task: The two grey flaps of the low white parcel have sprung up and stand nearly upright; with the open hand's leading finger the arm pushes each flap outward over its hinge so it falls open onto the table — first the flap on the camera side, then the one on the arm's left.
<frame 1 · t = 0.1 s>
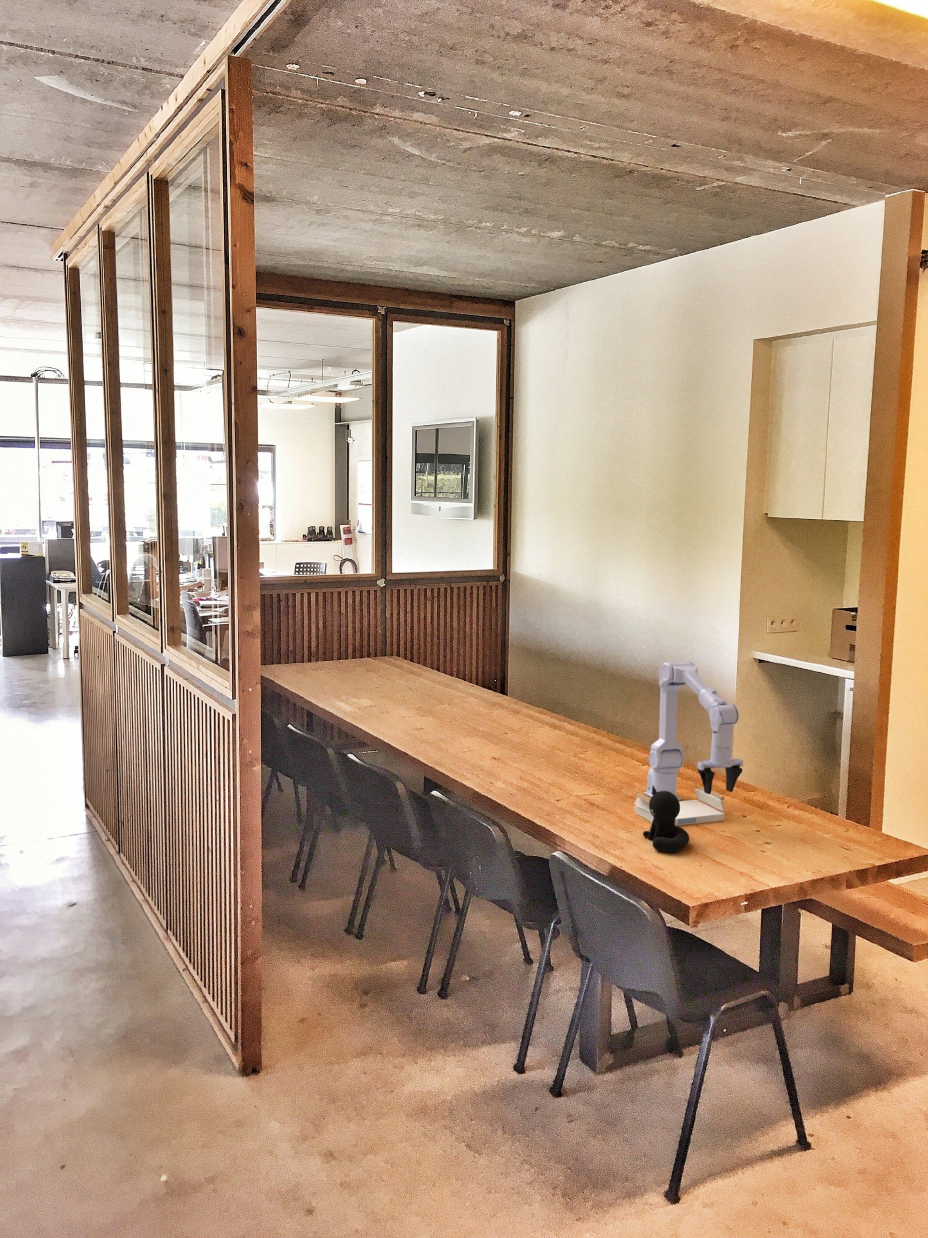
hand: (718, 792, 292), 10 cm above the table, fingers open, 7 cm apart
far flap: (711, 798, 304), point 5 cm above the table, hinge at 68.0°
figurine: (665, 844, 277), on the table
carton: (678, 816, 301), on the table
near flap: (646, 804, 296), point 5 cm above the table, hinge at 68.0°
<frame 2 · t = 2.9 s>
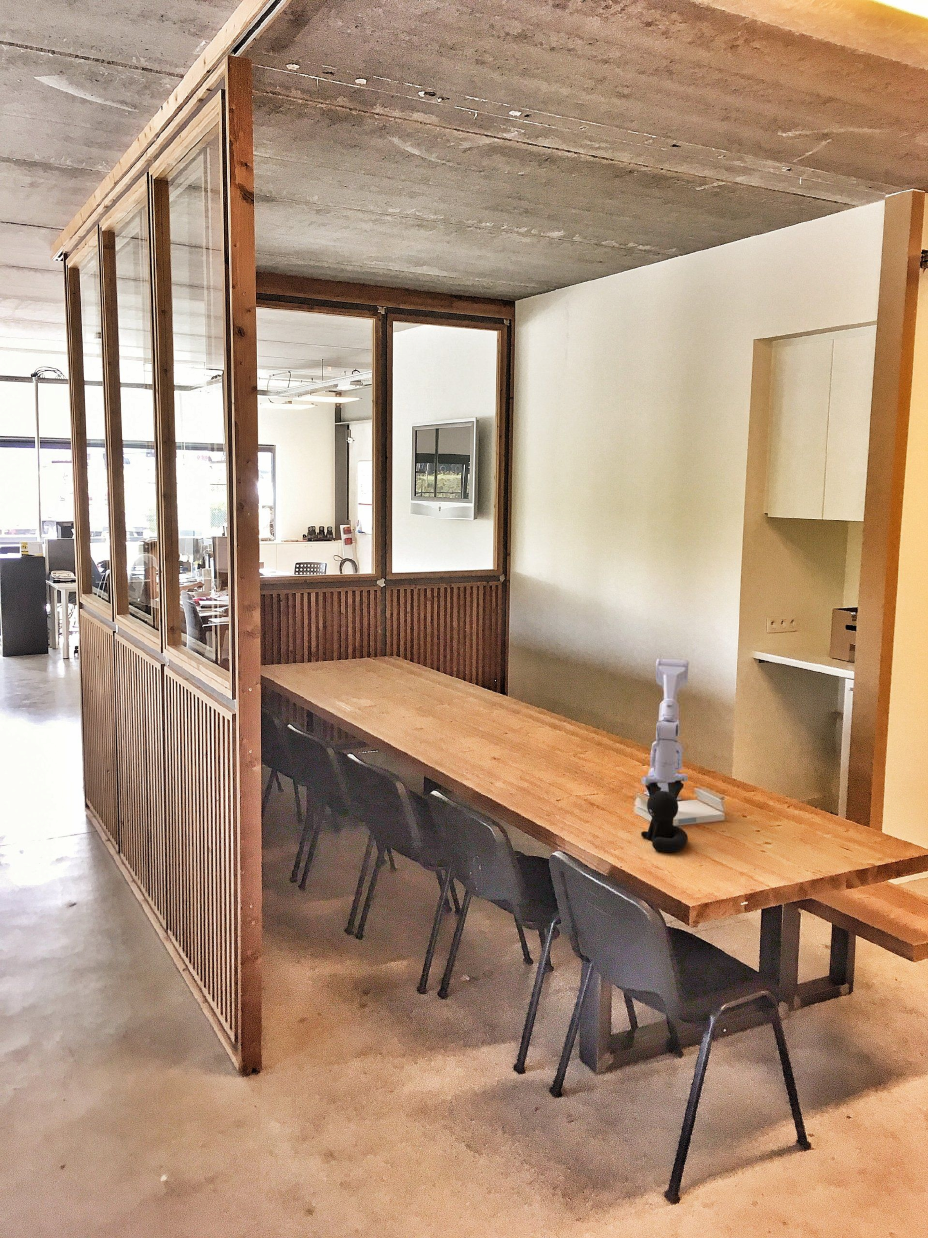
hand: (662, 806, 298), 3 cm above the table, fingers open, 5 cm apart
near flap: (646, 804, 296), point 5 cm above the table, hinge at 70.1°, touching gripper
everything else where it was.
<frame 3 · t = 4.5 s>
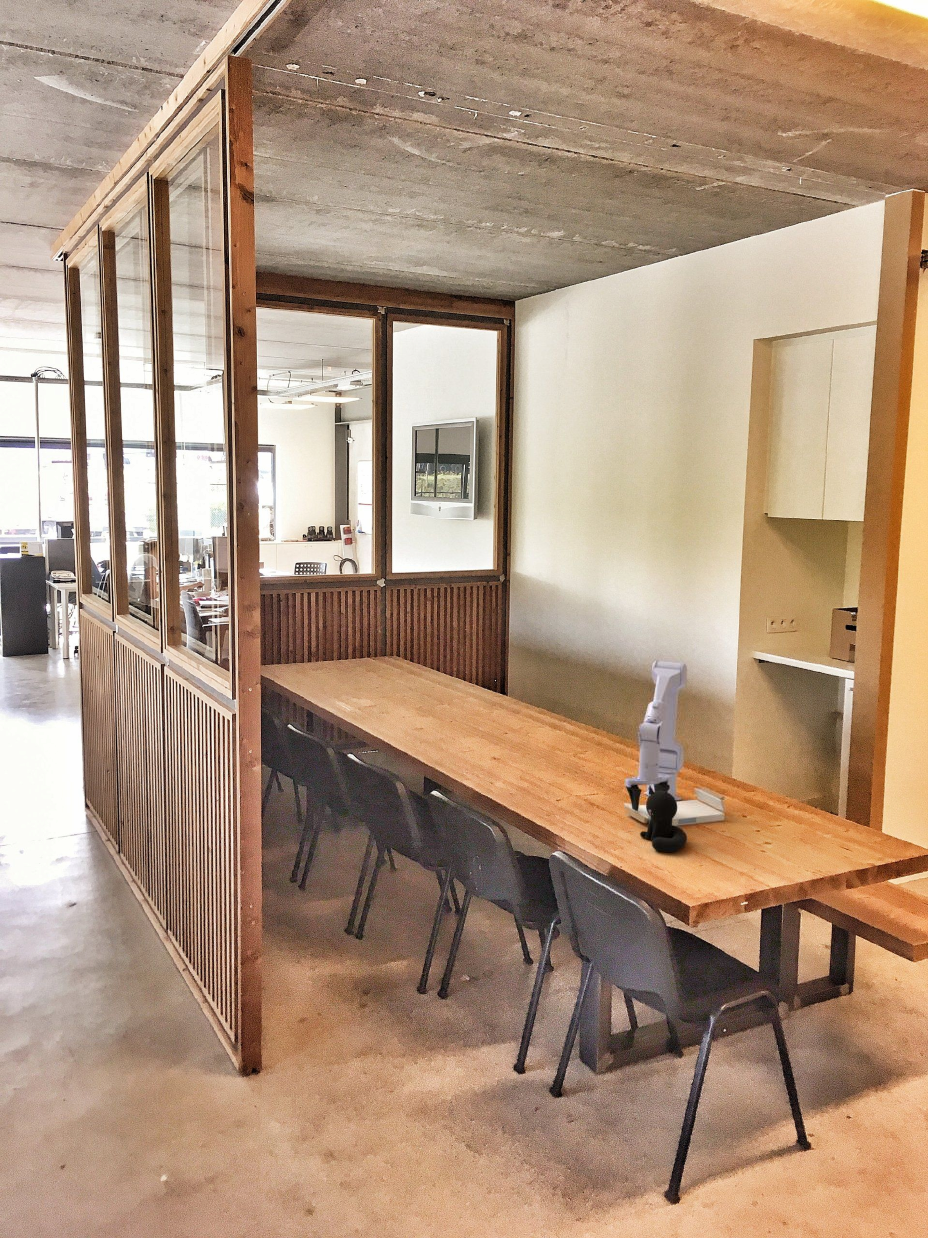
hand: (646, 808, 296), 3 cm above the table, fingers open, 7 cm apart
near flap: (640, 814, 295), point 2 cm above the table, hinge at 168.8°
everything else where it was.
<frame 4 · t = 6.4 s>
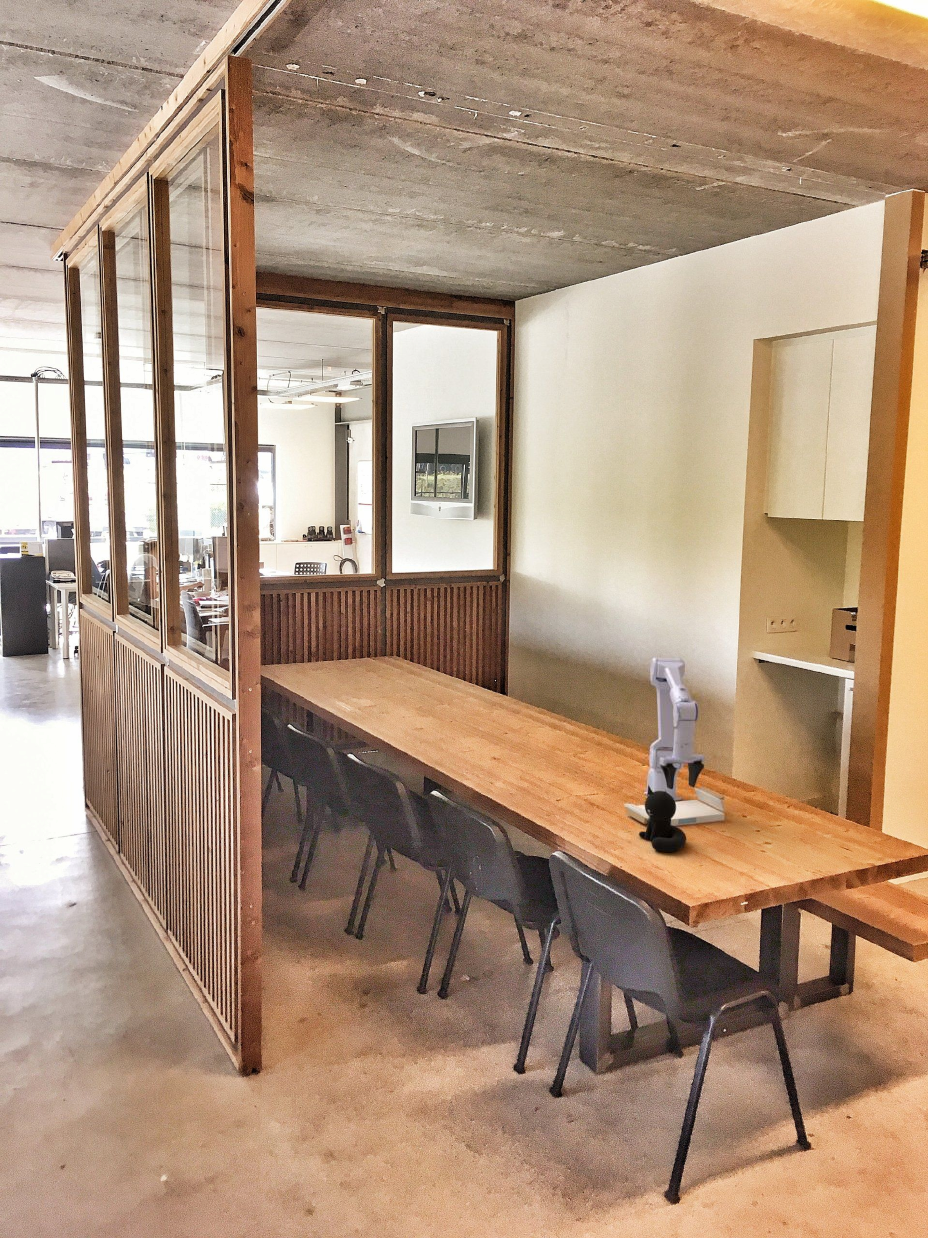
hand: (680, 787, 299), 9 cm above the table, fingers open, 7 cm apart
near flap: (640, 814, 295), point 2 cm above the table, hinge at 170.7°
everything else where it was.
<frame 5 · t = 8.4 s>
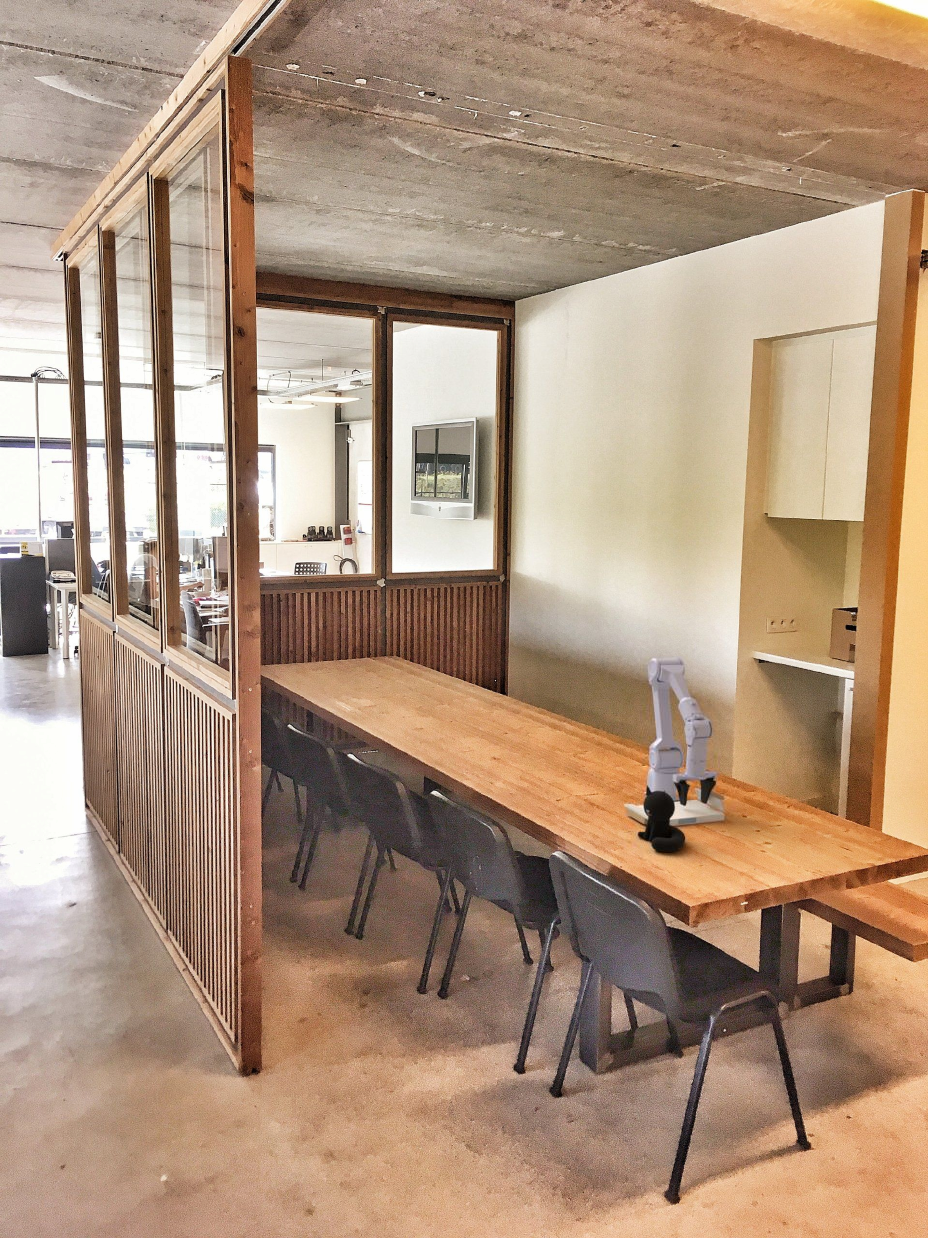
hand: (693, 803, 302), 3 cm above the table, fingers open, 7 cm apart
far flap: (711, 798, 304), point 5 cm above the table, hinge at 68.0°, touching gripper
near flap: (640, 814, 295), point 2 cm above the table, hinge at 172.7°
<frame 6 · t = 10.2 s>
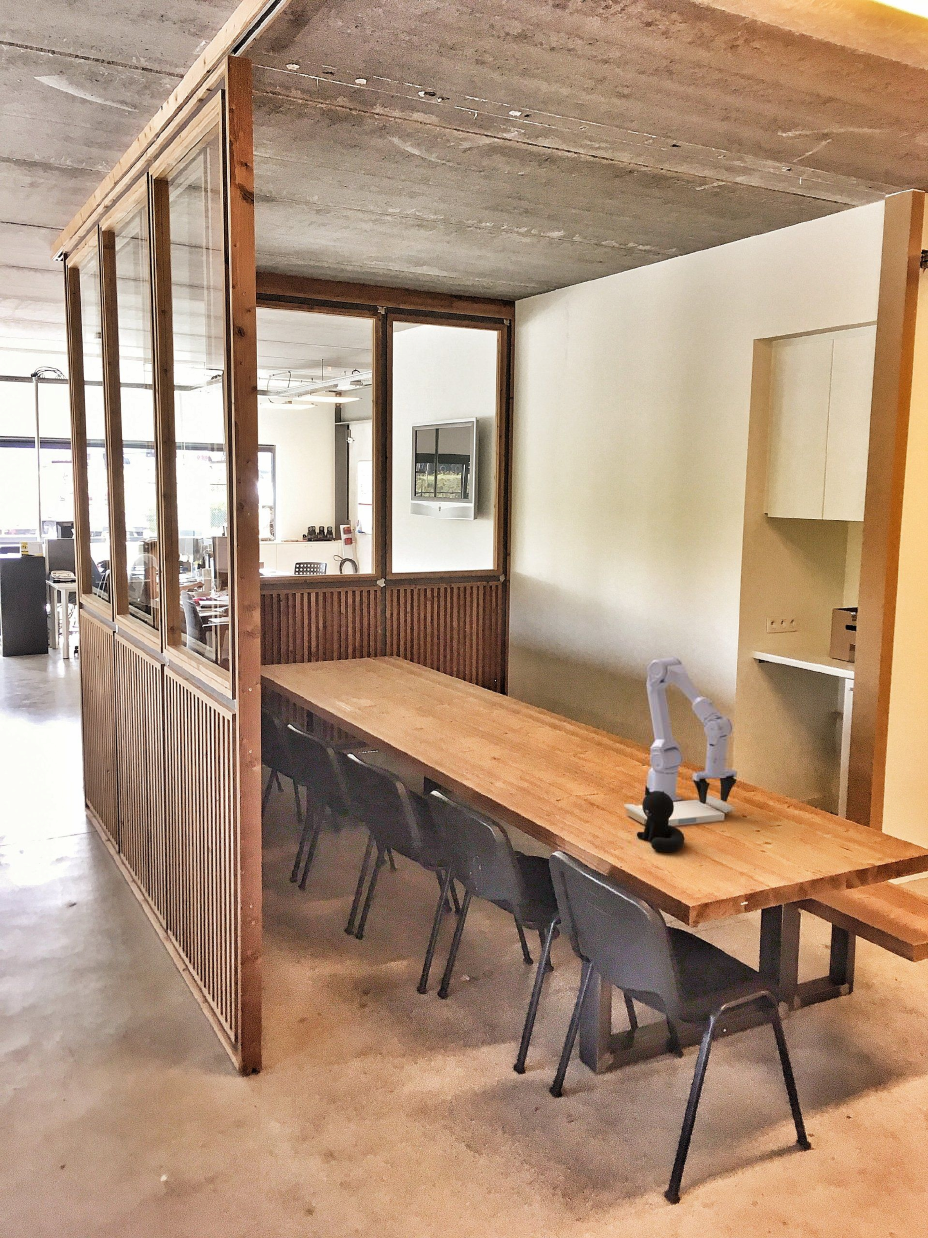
hand: (713, 801, 305), 3 cm above the table, fingers open, 7 cm apart
far flap: (717, 806, 305), point 2 cm above the table, hinge at 168.7°
near flap: (640, 815, 295), point 2 cm above the table, hinge at 174.6°
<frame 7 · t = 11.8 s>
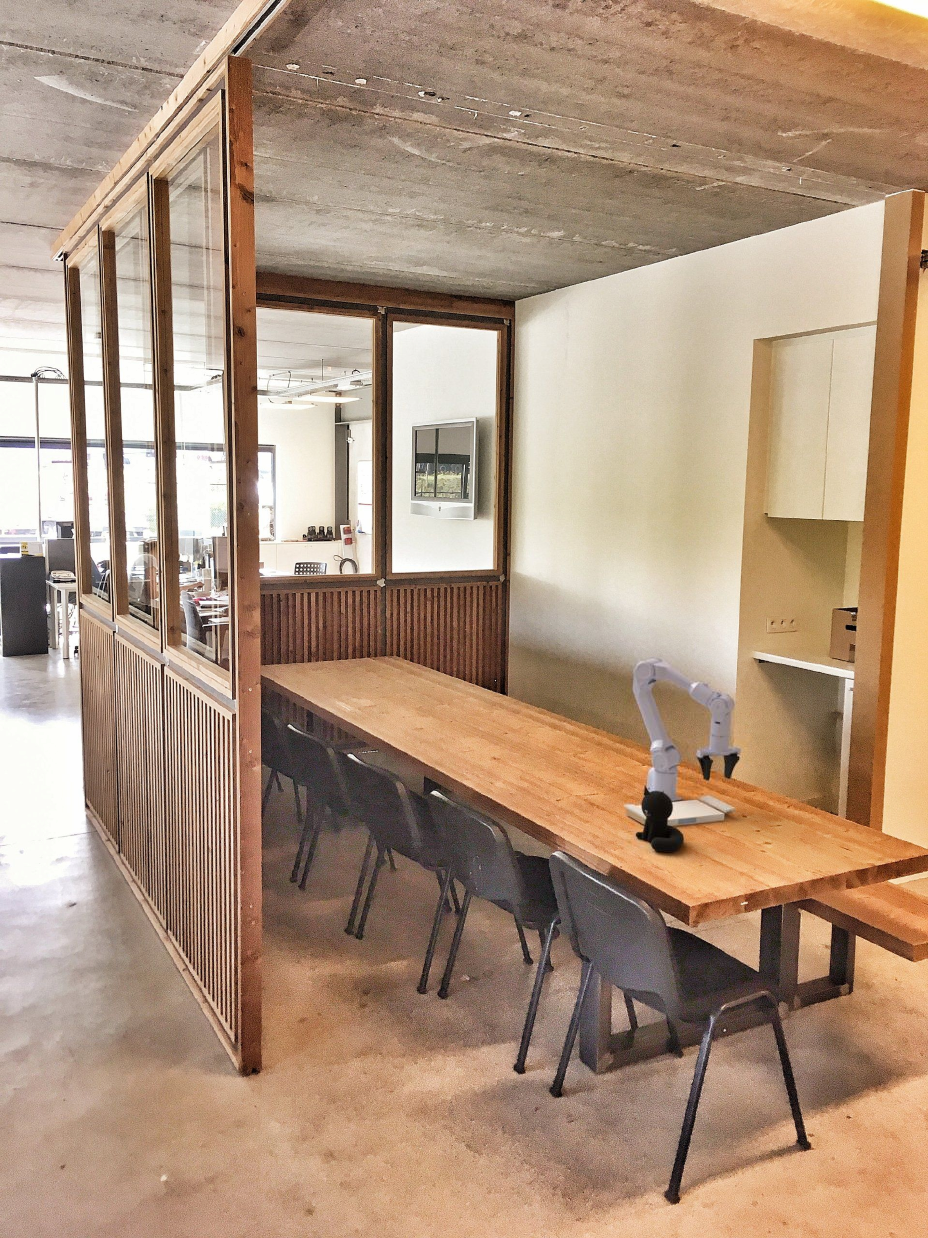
hand: (716, 778, 308), 9 cm above the table, fingers open, 7 cm apart
far flap: (717, 806, 305), point 2 cm above the table, hinge at 170.3°
near flap: (640, 815, 295), point 2 cm above the table, hinge at 176.2°
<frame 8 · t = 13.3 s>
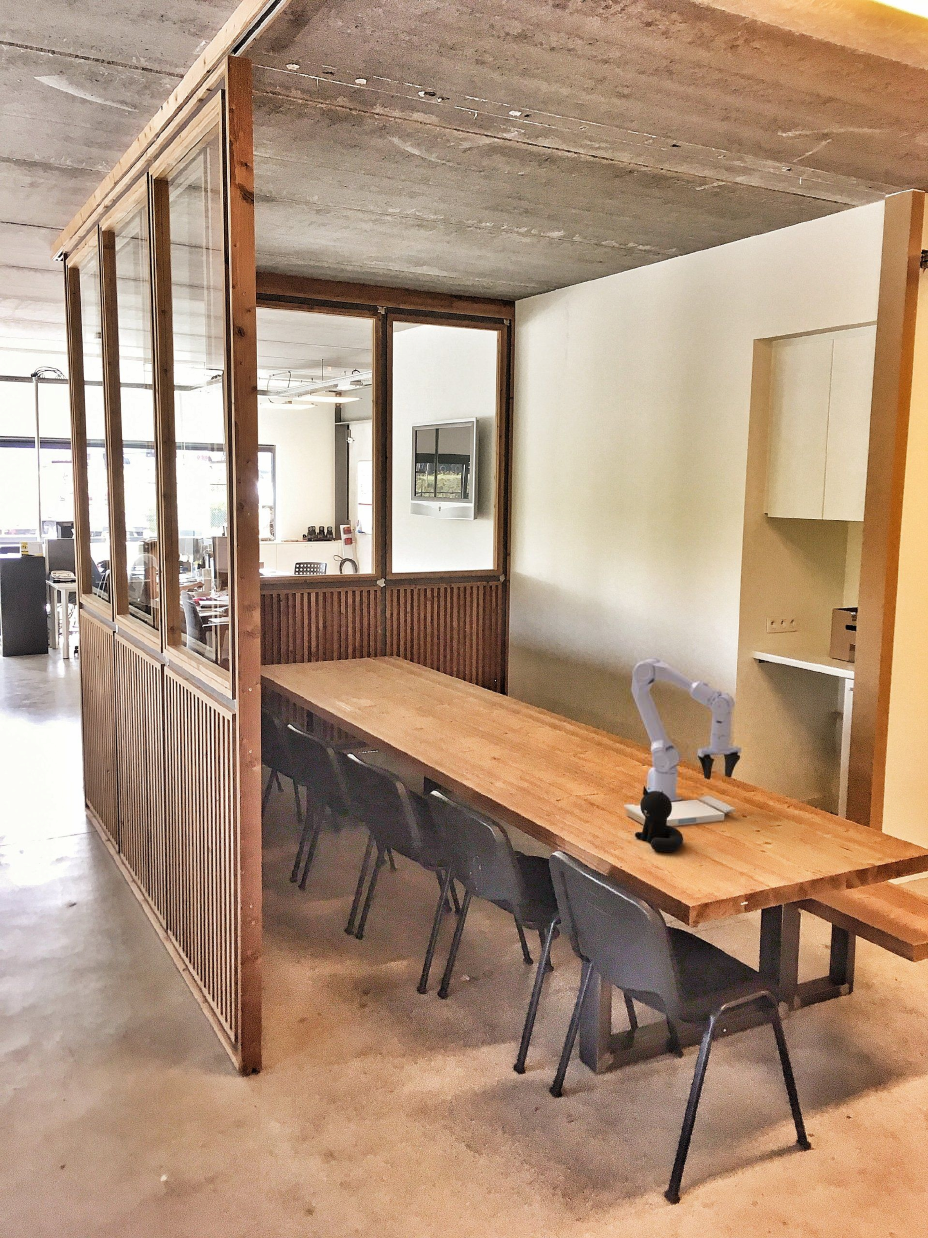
hand: (717, 777, 309), 9 cm above the table, fingers open, 7 cm apart
far flap: (717, 806, 305), point 2 cm above the table, hinge at 171.8°
near flap: (640, 815, 295), point 2 cm above the table, hinge at 177.6°
at the end: near flap at +178° (first picture: +68°); far flap at +172° (first picture: +68°) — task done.
